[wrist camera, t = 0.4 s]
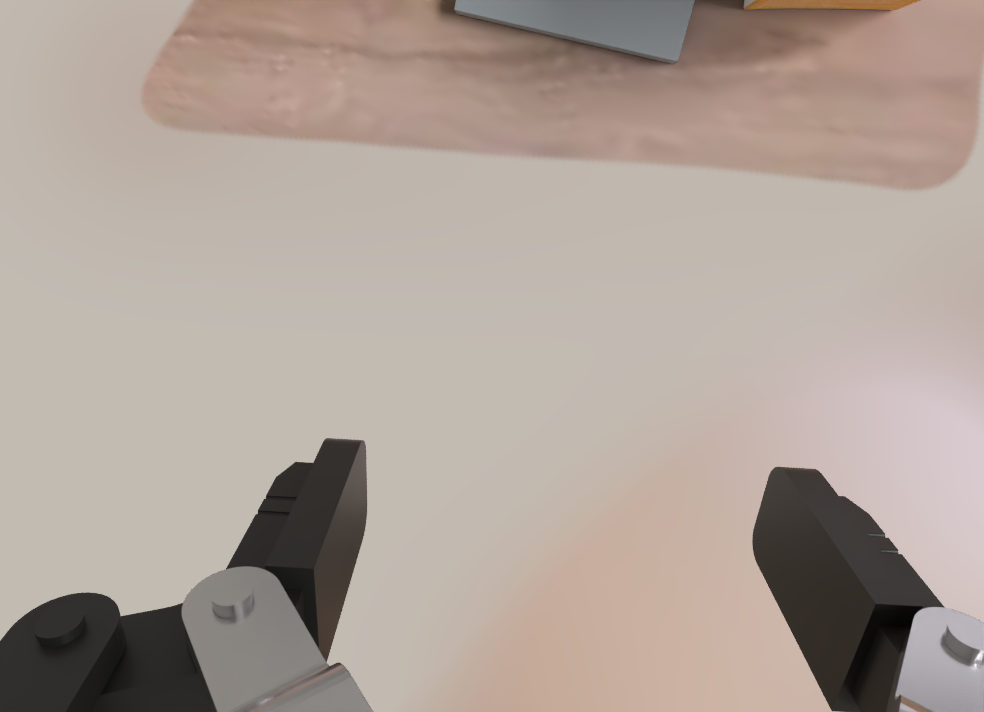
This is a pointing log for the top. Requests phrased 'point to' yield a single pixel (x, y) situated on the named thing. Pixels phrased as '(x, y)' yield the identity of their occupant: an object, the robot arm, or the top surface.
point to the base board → (595, 22)
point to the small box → (828, 4)
